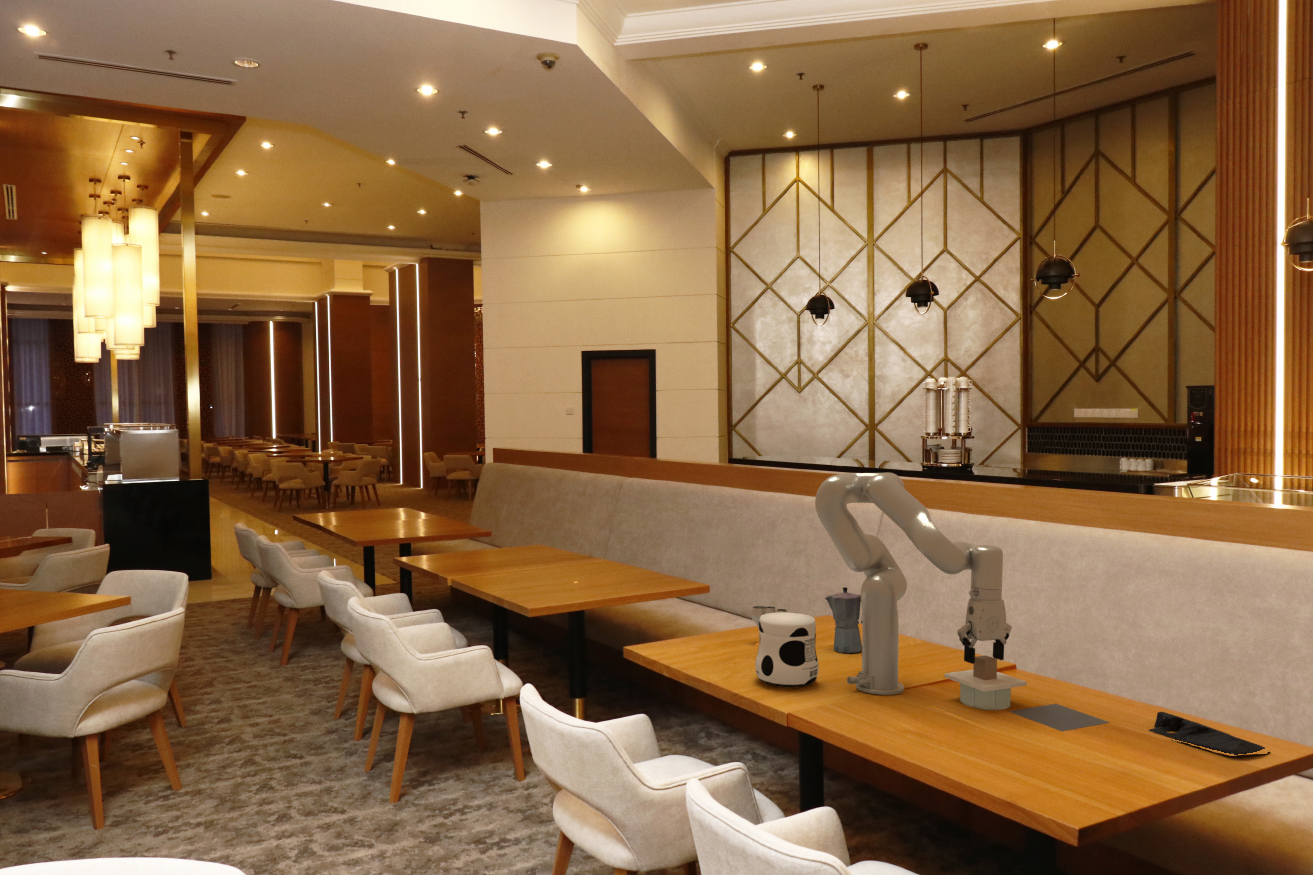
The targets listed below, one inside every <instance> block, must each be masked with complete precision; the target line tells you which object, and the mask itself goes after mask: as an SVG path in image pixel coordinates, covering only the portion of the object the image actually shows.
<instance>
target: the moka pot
mask: <svg viewBox="0 0 1313 875" xmlns="http://www.w3.org/2000/svg"><path fill="white" fill-rule="evenodd" d="M842 591H843V592H840V593H835V594H829V595H827V596H825V597H824V599H825V600H826V601H827V603H828V605H829V608H830V609H831V611H832V618H833V620H834V625H835V627H834V638H833V640H834V641H833V650H834V652H836V651H837V653H843V654H855V653H860V652H862V638H861V637H862V636H861V632H860V627H859V624H860V623H861V624H862V620H861V621H859V620H860V617H861V616H860V615H861V594H856V593H851V592H848V587H847V586H845V587H842Z"/></svg>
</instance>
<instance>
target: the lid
mask: <svg viewBox="0 0 1313 875" xmlns="http://www.w3.org/2000/svg"><path fill="white" fill-rule="evenodd" d="M972 666H973V669H968V670H966V669H965V670H961V671H953V672H946V673H944V678H946V679H949V680H950V681H953V682H955V683H959V684H960V683H962V684H964V685H967V686H970V687H972V688H975V689H978V690H981V691H983V692H986V691H993V690H1000V689H1006V688H1011V689H1013V688H1018V687H1025V686H1026V687H1027V685H1028V684H1027V683H1028V682H1027V680H1024V679H1020V678H1017V677H1014V676H1011V675H1008V674H1005V673H1002V672H999V671H998V659H996V658H993V656H992V657H991V656H989V655H979V656H978V655H977V656H975V663H974V664H972Z"/></svg>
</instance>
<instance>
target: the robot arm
mask: <svg viewBox="0 0 1313 875" xmlns="http://www.w3.org/2000/svg"><path fill="white" fill-rule="evenodd" d="M814 499H815V500H814V506H815V510H816V514H817V516H818V519H819V521H820V523H821V525H822V526H823V528H824V529H825V531H826V532H827V534H828V535H829V537H830V539H831V542H832V543H833V544H834V546H835V547H836V550H837V551H838V553H839V554H840V556H841V558H842V560H843V561H844V563H845V564H846V566H847V567H848V568H849V569H850V570H851V571H853V572H856V573H863V574H864V575H865V577H866V578H864V581H863V582H862V584H861V587H860V595H861V604H860V606H861V615H862V616H861V617H862V619H861V621H862V623H861V625H862V626H861V627H862V628H861V629H862V630H861V631H862V634H861V635H862V636H861V637H862V638H861V643H862V651H861V652H862V653H861V670H859V671H858V674H856V676H854V675H853V676H848V677H847V678H846V683H847V684H848V685H855V687H856V689H857V690H858V691H861V692H864V693H867V694H871V695H877V696H878V695H879V696H892V695H898V694H901V693H903V692H904V690H905V685H904V684H903V683H901V682H899V642H900V641H899V638H900V637H899V635H900V634H899V625H900V624H899V613H898V601H899V600H901V599H902V598H903V597H904V596H905V594H906V593H907V589H908V584H907V583H908V582H907V579H906V576H905V575H904V572H903V571H902V570H901V568H900V566H899V565H898V563H897V561H896V560H895V558H894V556H893V555H892V554H891V552H890V551H889V549H888V547H887V546H886V545H885V543H884V542H883V541H882V540H881V539H880V538H879V537H877V536H875V535H873V534H867V533H865V532H864V530H863V529H862V527H861V526H860V524H859V522H858V521H857V519H856V518H855V517H854V515H853V514H852V513H851V512H850V510H849V508H848V506H847V505H849V504H856V503H857V504H860V503H861V504H863V503H864V504H867V503H868V504H874V506H876V507H877V508H878V509H879V510H880V511H881V512H882V513H884V515H885V516H887V517H888V518H889V519H890V520H891V521H892V522H893V523H894V524H896V526H898V527H899V528H900V529H901V531H903V532H904V533H905V536H906V537H907V538H908V540H910V541H911V543H912V544H913V546H914V547H916V549H917V550H918V551H919V552H920V553H921V554H922V555H923V556H924V557H925V558H926V559H927V560H928V561H930V563H931V564H933V565H934V566H935V567H936V568H937V569H938V570H940V571H941V572H943V573H944V574H947V575H957V574H960V573H962V572H964V571H967V570H970V571H971V572H970V574H971V575H970V590H969V591H968V595H969V596H970V597H969V599H968V603H967V608H966V613H965V614H966V615H965V622H964V624H963V625H962V626H961V627H960V628H959V629H957V630H956V633H957V636H958V638H959V641H960V643H961V644H962V646H963V647H964V648H963V661H964V662H966V663H969V664H972V665H973V664H974V663H975V657H976V648H975V647H974V646H975V645H976V643H977V642H978V641H979V642H986V641H993V643H992V658H995V659H997V660H999V661H1004V659H1005V645H1006V644H1007V640H1008V639H1009V637H1010V633H1011V632H1012V629H1013V626H1012V625H1010V624H1009V623H1007V612H1006V604H1005V601H1004V599H1003V598H1002V597H1003V596H1002V593H1003V592H1002V591H1003V570H1004V569H1003V566H1004V565H1003V564H1004V551H1003V549H1002V548H1001V547H1000V546H996V545H988V544H986V545H985V544H973V543H968V542H965V541H953V542H952V541H951V540H950V539H949V538H948V537H947V536H946V535H944V534H943V532H941V531H940V530H939V529H938V527H937V526H936V525H935V524H934V522H933V520H932V518H931V515H930V513H929V511H928V509H927V507H926V506H925V505H924V504H922V503H921V502H920V500H918V499H917V498H916V497H914V496H913V495H912V494H911V493H910V492H909V491H907V489H905V482H904V481H903V479H902V478H901V477H900V476H899V475H897V474H895V473H894V472H863V473H862V472H851V473H850V472H848V473H840V474H834V475H831V476H829V477H827V478H826V479H825V480H824V481H823V482H821V484H820V485H819V487H818V489H817V492H816V494H815V498H814Z"/></svg>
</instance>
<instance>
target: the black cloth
mask: <svg viewBox="0 0 1313 875" xmlns="http://www.w3.org/2000/svg"><path fill="white" fill-rule="evenodd" d="M1147 730H1148V732H1151V733H1154V734H1157V735H1161V736H1163V737H1166V738H1168V739H1169V738H1170V739H1171V740H1172V739H1175V740H1179V741H1183V742H1187V743H1191V744H1194V745H1197V746H1202V747H1205V748H1209V749H1212V750H1217V751H1221V752H1224V753H1229V754H1234V755H1238V754H1247V753H1253V752H1257V751H1260V750H1262V749H1265V748H1266V747H1264V746H1263V745H1261V744H1258V743H1254V742H1251V741H1248V740H1246V739H1242V738H1240V737H1236V736H1235V735H1232V734H1230V733H1227V732H1224V731H1221V730H1218V729H1216V728H1213V727H1211V726H1207V725H1205V724H1202V723H1199V722H1196V721H1193V720H1190V719H1187V718H1183V717H1181V716H1178V715H1174V714H1173V713H1168V712H1165V711H1158V712H1157V713H1156V719H1155V722H1154V726H1153V728H1151V729H1147Z"/></svg>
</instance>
